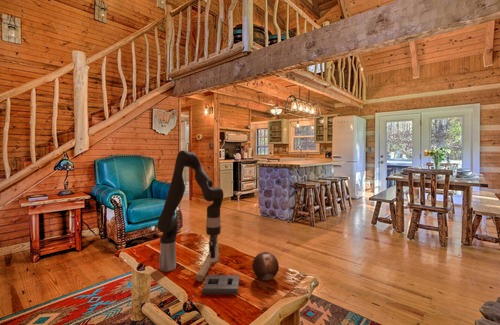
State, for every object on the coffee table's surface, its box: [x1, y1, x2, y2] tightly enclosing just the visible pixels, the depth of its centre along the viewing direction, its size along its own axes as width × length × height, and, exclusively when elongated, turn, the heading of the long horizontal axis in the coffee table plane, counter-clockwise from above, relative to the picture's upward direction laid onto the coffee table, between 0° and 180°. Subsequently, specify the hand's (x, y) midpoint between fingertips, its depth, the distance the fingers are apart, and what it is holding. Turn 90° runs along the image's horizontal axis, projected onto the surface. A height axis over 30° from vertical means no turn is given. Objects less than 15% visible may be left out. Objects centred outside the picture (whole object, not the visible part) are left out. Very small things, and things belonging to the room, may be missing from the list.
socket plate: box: [202, 274, 240, 295], centre depth 135 cm, size 18×14×3 cm
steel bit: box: [208, 243, 219, 263], centre depth 135 cm, size 4×4×8 cm
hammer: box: [195, 238, 220, 282], centre depth 155 cm, size 16×5×30 cm
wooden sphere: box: [251, 251, 280, 281], centre depth 144 cm, size 15×15×15 cm
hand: (213, 256), depth 135 cm, fingers closed on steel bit, 4 cm apart
